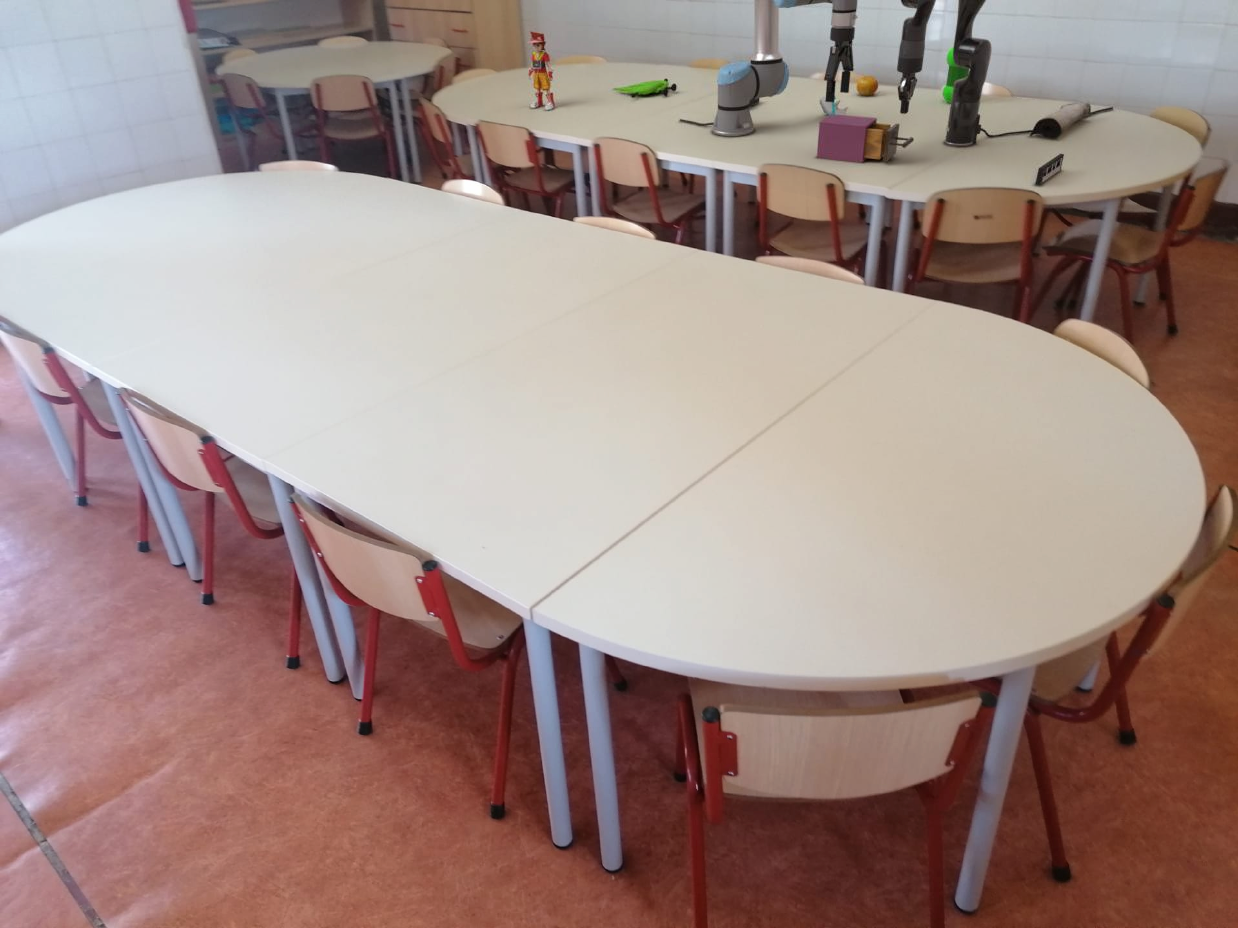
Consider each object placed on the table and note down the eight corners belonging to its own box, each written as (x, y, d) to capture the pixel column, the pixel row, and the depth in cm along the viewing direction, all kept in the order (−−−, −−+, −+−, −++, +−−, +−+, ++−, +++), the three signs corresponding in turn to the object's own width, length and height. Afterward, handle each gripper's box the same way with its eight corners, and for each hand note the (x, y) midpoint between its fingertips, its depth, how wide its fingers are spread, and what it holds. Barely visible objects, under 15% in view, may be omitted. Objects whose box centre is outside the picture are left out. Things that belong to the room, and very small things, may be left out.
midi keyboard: (1039, 185, 269) (1043, 168, 266) (1035, 184, 270) (1038, 168, 267) (1060, 170, 279) (1064, 154, 277) (1056, 169, 280) (1060, 153, 277)
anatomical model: (814, 91, 345) (840, 84, 344) (817, 118, 351) (843, 112, 350) (825, 101, 333) (851, 93, 332) (828, 129, 339) (854, 122, 338)
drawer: (912, 155, 297) (916, 125, 292) (903, 164, 291) (907, 133, 285) (853, 149, 307) (856, 119, 301) (843, 157, 300) (846, 127, 294)
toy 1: (525, 109, 381) (517, 32, 364) (534, 104, 388) (527, 28, 371) (550, 110, 377) (543, 32, 360) (559, 105, 384) (553, 28, 367)
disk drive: (744, 111, 360) (759, 102, 370) (744, 104, 358) (760, 95, 368) (721, 109, 365) (737, 100, 375) (721, 102, 363) (737, 93, 373)
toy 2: (686, 85, 398) (631, 84, 414) (685, 72, 395) (629, 72, 411) (651, 104, 381) (596, 103, 397) (650, 92, 378) (594, 91, 394)
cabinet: (873, 154, 304) (877, 118, 298) (862, 163, 297) (865, 126, 290) (828, 149, 312) (831, 114, 305) (816, 157, 304) (819, 122, 298)
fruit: (851, 87, 368) (863, 69, 365) (853, 91, 376) (865, 73, 373) (868, 99, 367) (880, 81, 364) (870, 102, 374) (882, 84, 371)
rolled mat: (1058, 107, 328) (1083, 90, 320) (1071, 128, 329) (1097, 111, 320) (1025, 130, 311) (1051, 112, 303) (1040, 152, 311) (1065, 134, 303)
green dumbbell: (973, 101, 354) (984, 32, 339) (955, 106, 349) (966, 36, 335) (952, 97, 361) (962, 29, 346) (934, 102, 356) (944, 33, 342)
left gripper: (840, 34, 273) (834, 107, 286) (867, 20, 290) (861, 89, 303) (817, 33, 277) (812, 105, 289) (845, 19, 294) (839, 88, 306)
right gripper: (917, 60, 271) (909, 119, 281) (929, 51, 280) (921, 109, 290) (892, 58, 275) (885, 117, 285) (905, 50, 284) (898, 107, 294)
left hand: (837, 97), depth 296 cm, fingers open, 13 cm apart
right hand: (903, 113), depth 287 cm, fingers closed
